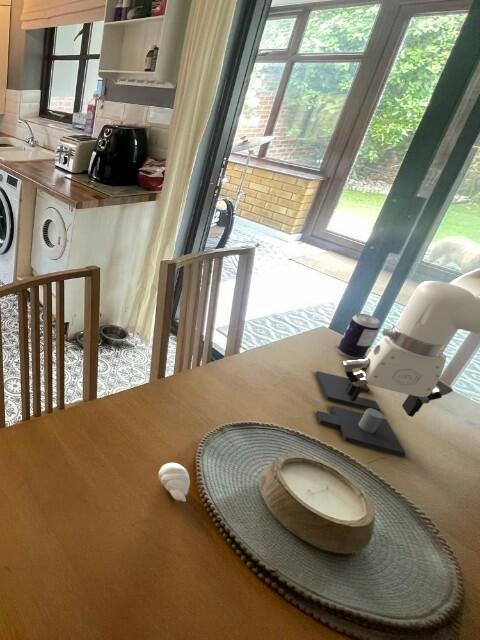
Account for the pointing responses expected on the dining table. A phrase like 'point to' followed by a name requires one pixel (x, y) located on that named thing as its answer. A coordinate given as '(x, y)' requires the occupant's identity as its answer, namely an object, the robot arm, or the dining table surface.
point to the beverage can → (359, 335)
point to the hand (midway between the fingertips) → (377, 404)
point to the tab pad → (358, 434)
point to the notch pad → (343, 391)
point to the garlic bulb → (175, 480)
